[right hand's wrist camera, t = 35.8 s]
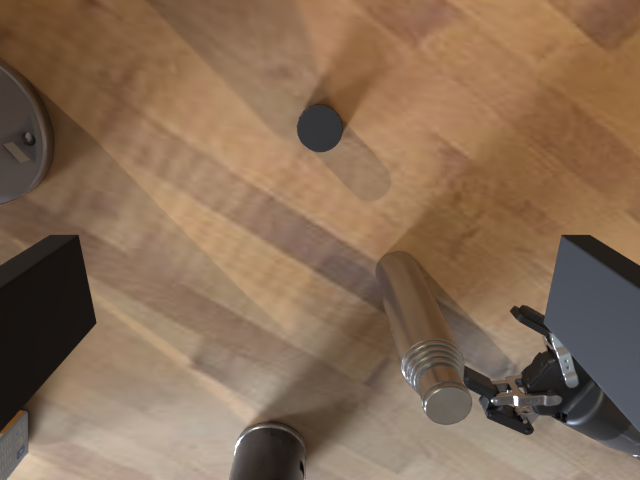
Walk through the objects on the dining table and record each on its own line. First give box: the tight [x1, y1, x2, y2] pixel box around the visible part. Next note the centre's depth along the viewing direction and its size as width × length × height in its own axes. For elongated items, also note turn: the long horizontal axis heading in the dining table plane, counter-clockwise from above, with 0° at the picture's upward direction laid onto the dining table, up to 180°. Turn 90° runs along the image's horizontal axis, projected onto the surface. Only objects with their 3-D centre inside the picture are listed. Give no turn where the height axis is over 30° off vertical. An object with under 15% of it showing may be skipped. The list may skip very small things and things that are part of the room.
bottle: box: [376, 252, 472, 425], centre depth 41 cm, size 5×5×22 cm
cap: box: [297, 104, 343, 152], centre depth 44 cm, size 4×4×2 cm
